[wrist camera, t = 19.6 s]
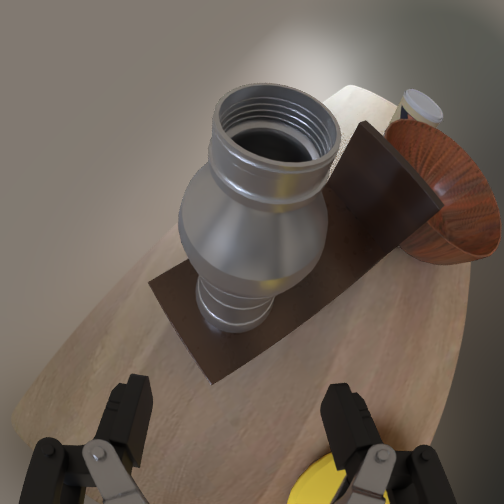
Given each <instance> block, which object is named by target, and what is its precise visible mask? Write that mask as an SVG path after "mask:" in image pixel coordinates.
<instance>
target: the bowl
mask: <svg viewBox="0 0 504 504" xmlns="http://www.w3.org/2000/svg"><path fill="white" fill-rule="evenodd" d="M383 137H384V138H385V139H386V140H387V141H388V142H389V143H390V144H391V145H392V146H393V147H394V148H395V149H396V150H397V151H398V152H399V153H400V154H401V155H402V156H403V157H404V158H405V159H406V160H407V161H408V162H409V163H410V164H411V166H412V167H413V168H414V169H415V170H416V171H417V172H418V173H419V175H420V176H421V177H422V178H423V179H424V180H425V181H426V183H427V184H428V185H429V186H430V187H431V189H432V190H433V191H434V192H435V194H436V195H437V196H438V197H439V199H440V200H441V201H442V202H443V204H444V207H443V208H442V209H441V210H440V211H439V212H437V213H436V214H435V215H434V216H433V217H432V218H431V219H429V220H428V221H427V222H426V223H425V224H424V225H422V226H421V227H420V228H419V229H418V230H416V231H415V232H414V233H413V234H412V235H410V236H409V237H408V238H407V239H406V240H404V241H403V242H402V243H401V244H399V245H398V246H400V247H401V248H402V249H403V250H404V251H405V252H407V253H408V254H409V255H411V256H413V257H415V258H417V259H419V260H420V261H423V262H428V263H432V264H437V265H452V264H459V263H465V262H470V261H474V260H478V259H482V258H485V257H488V256H490V255H491V254H492V253H493V252H494V251H496V249H497V248H498V245H499V242H500V239H501V218H500V213H499V208H498V205H497V202H496V199H495V197H494V194H493V192H492V190H491V188H490V186H489V184H488V182H487V180H486V178H485V177H484V175H483V174H482V172H481V171H480V169H479V168H478V166H477V165H476V163H475V162H474V161H473V160H472V159H471V157H470V156H469V155H468V154H467V153H466V152H465V151H464V150H463V149H462V148H461V147H460V146H459V145H458V144H457V143H456V142H455V141H453V140H452V139H451V138H450V137H448V136H447V135H445V134H444V133H442V132H441V131H440V130H438V129H436V128H434V127H432V126H430V125H428V124H426V123H424V122H420V121H417V120H413V119H399V120H396V121H394V122H391V123H390V125H389V126H388V128H387V129H386V130H385V133H384V135H383Z"/></svg>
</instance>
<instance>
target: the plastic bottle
mask: <svg viewBox="0 0 504 504" xmlns="http://www.w3.org/2000/svg"><path fill="white" fill-rule="evenodd" d="M340 143H341V131H340V126H339V124H338V122H337V120H336V118H335V117H334V115H333V114H332V113H331V111H330V110H329V109H328V108H327V107H326V106H325V105H324V104H322V103H321V102H320V101H318V100H317V99H315V98H314V97H312V96H310V95H309V94H307V93H305V92H303V91H300V90H298V89H295V88H292V87H288V86H285V85H280V84H272V83H254V84H248V85H244V86H240V87H238V88H235V89H233V90H231V91H229V92H228V93H226V94H225V95H224V96H223V97H222V98H221V99H220V100H219V102H218V103H217V105H216V107H215V111H214V114H213V118H212V138H211V140H210V144H209V148H208V154H209V155H208V159H209V160H208V162H207V163H206V164H205V165H204V166H203V167H202V168H201V169H200V170H198V172H197V173H196V174H195V175H194V177H193V178H192V179H191V181H190V183H189V185H188V187H187V189H186V191H185V194H184V197H183V199H182V203H181V207H180V211H179V221H178V229H179V233H180V238H181V243H182V245H183V247H184V250H185V252H186V254H187V256H188V259H189V261H190V263H191V264H192V266H193V267H194V268H195V270H196V271H197V273H198V274H199V277H198V279H197V285H196V301H197V305H198V308H199V310H200V312H201V314H202V315H203V317H204V318H205V319H206V320H207V321H208V322H209V323H210V324H211V325H212V326H214V327H216V328H217V329H219V330H222V331H225V332H230V333H242V332H246V331H249V330H252V329H254V328H256V327H257V326H259V325H260V324H261V323H262V322H263V321H264V320H265V319H266V318H267V316H268V315H269V313H270V311H271V309H272V306H273V302H274V298H275V296H276V295H278V294H280V293H283V292H284V291H286V290H288V289H290V288H292V287H293V286H295V285H296V284H297V283H299V282H300V281H301V280H302V279H303V278H305V277H306V276H307V275H308V274H309V273H310V272H311V271H312V270H313V268H314V267H315V265H316V264H317V262H318V261H319V259H320V257H321V254H322V252H323V249H324V246H325V240H326V235H327V228H328V213H327V208H326V204H325V200H324V197H323V194H322V189H323V187H324V186H325V184H326V181H327V179H328V177H329V172H330V167H331V165H332V163H333V161H334V159H335V157H336V155H337V152H338V150H339V146H340Z"/></svg>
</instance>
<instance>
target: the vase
mask: <svg viewBox="0 0 504 504" xmlns="http://www.w3.org/2000/svg"><path fill="white" fill-rule="evenodd" d="M345 475H346V471H345V470H340V471H337V469H336V466H335V462H334V459H333V455H332V452H331V453H329V454H326V455H324V456H323V457H322V458H320V459H319V460H317V461H316V462H315V463H313V464H312V465H310V467H309V468H308V469H307V470H306V471H305V472H304V473H303V474H302V475H301V476H300V477H299V478H298V480H297V481H296V483H295V485H294V486H293V488H292V489H291V492H290V496H289V499H288V502H287V504H330V502H331V501H332V499H333V497H334V495H335V494H336V492H337V490H338V488H339V486H340V484H341V483H342V481H343V479H344V477H345ZM383 497H384V498H386V502H385V504H390V503H389V499H388V496H387V492H386V490H385V492H384V495H383Z"/></svg>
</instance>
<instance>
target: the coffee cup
mask: <svg viewBox="0 0 504 504" xmlns="http://www.w3.org/2000/svg"><path fill="white" fill-rule="evenodd" d="M399 119H413V120H417V121H420V122H424V123H426V124H428V125H430V126H432V127H434V128H436V127H437V126H438V124H439V123H441V122H442V120H443V112H442V110H441V109H440V108H439V106H438V105H437V104H436V103H435V102H434V101H433V100H432V99H431V98H429V97H428V96H426V95H425V94H424V93H422V92H420V91H418V90H415V89H408V90H406V91H405V92H404V94H403V97H402V99H401V101H400V103H399V105H398V107H397V109H396V111H395V113H394V115H393V117H392V119H391V121H390V123H391V122H394V121H396V120H399ZM390 123H389V125H390ZM389 125H388V126H389ZM387 128H388V127H387Z"/></svg>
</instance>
